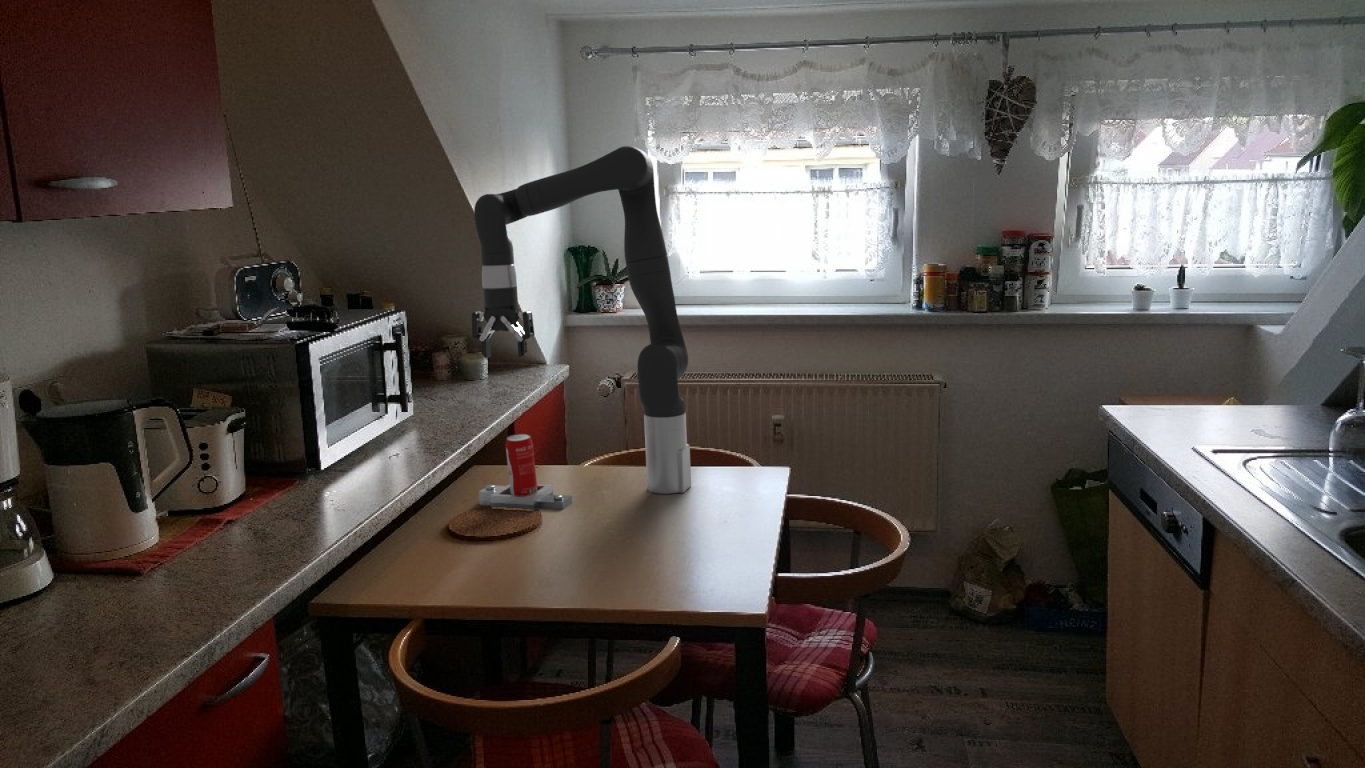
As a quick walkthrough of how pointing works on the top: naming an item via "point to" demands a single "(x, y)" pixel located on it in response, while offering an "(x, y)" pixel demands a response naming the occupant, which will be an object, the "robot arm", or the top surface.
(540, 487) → the bolted grey bracket
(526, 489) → the beverage can
